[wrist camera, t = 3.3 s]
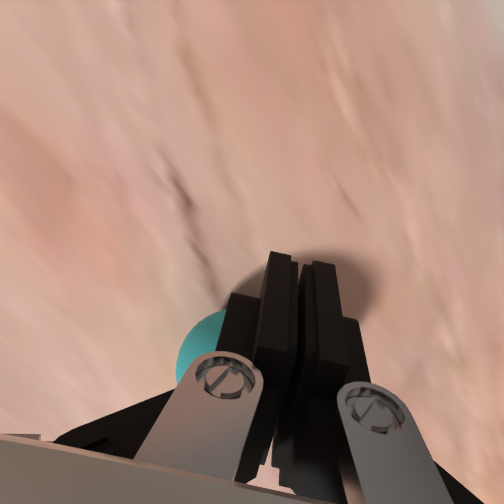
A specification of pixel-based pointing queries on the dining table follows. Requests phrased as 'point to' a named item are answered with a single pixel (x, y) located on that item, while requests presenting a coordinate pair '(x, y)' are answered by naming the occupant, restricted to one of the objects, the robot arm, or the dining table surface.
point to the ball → (199, 341)
